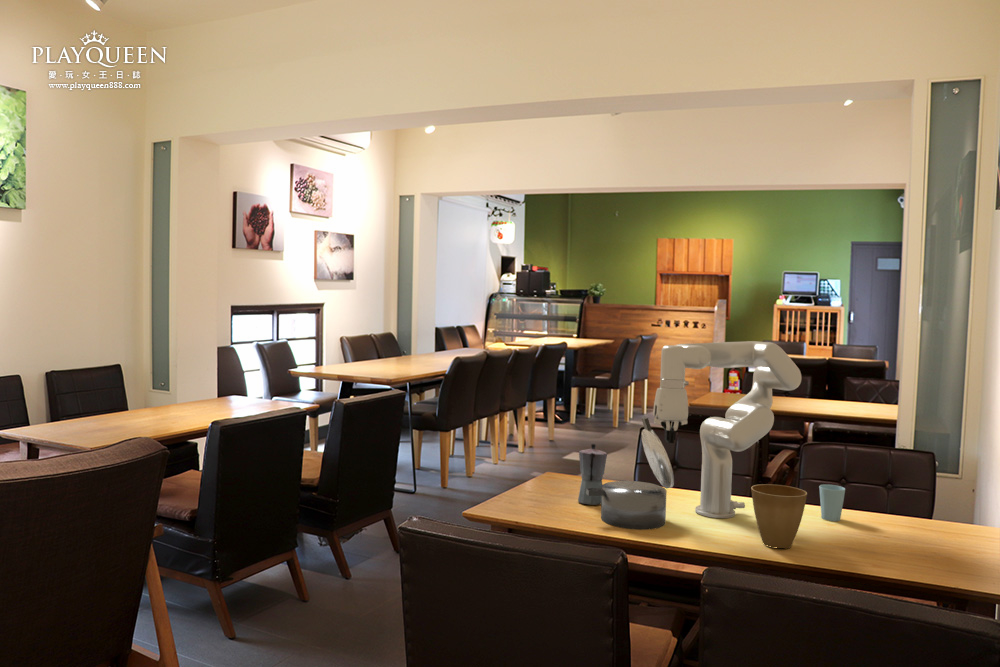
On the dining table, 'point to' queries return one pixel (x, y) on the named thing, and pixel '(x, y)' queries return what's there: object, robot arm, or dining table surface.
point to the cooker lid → (657, 455)
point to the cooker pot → (632, 504)
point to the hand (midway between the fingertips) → (669, 442)
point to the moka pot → (591, 473)
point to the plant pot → (778, 513)
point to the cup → (831, 501)
